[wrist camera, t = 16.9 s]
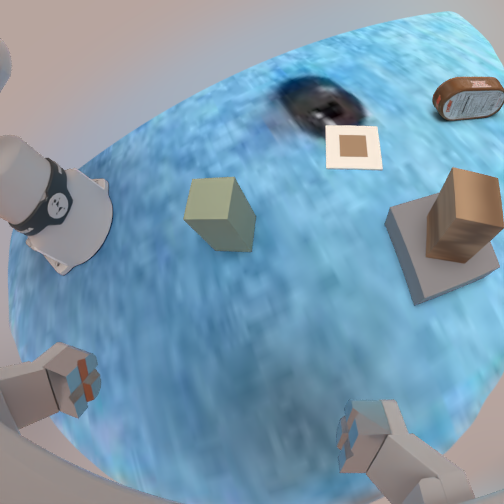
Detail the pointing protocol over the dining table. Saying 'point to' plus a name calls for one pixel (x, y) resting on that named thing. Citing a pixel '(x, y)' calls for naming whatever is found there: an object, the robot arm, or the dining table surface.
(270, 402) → the dining table surface
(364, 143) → the card
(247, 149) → the dining table surface
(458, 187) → the walnut block
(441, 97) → the tin
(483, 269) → the base block
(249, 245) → the olive block
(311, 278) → the dining table surface
